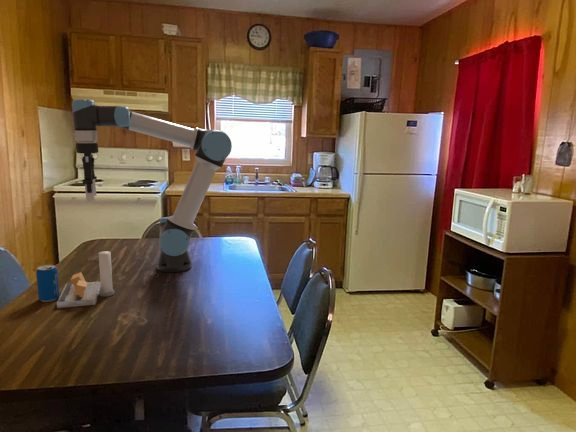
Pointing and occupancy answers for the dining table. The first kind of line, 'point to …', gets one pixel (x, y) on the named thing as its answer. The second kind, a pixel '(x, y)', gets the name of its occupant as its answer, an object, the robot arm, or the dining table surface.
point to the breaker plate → (87, 299)
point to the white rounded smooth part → (105, 274)
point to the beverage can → (47, 283)
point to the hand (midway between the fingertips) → (91, 198)
